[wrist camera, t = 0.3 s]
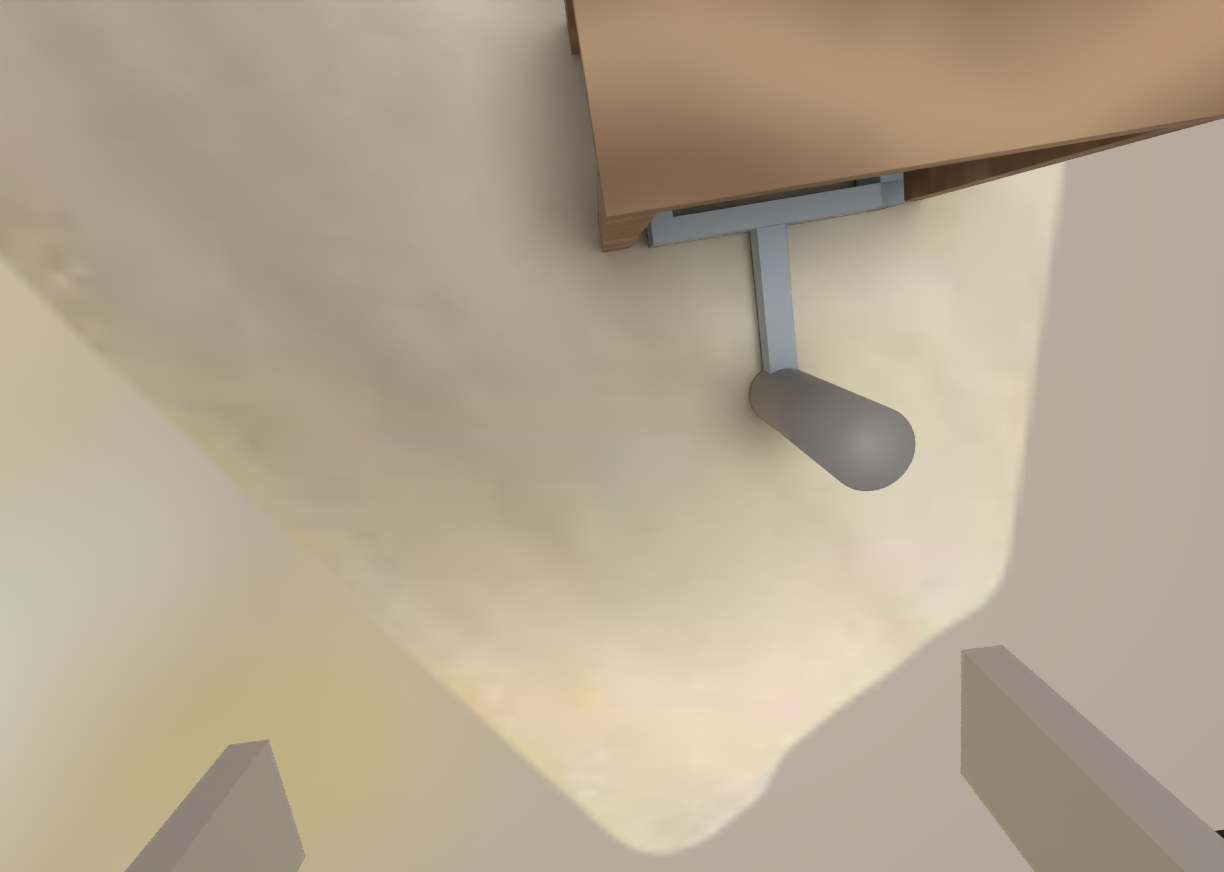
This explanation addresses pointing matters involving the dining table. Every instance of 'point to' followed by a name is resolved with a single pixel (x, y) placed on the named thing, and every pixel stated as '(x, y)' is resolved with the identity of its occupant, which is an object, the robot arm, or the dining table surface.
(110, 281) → the dining table surface
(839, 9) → the tunnel
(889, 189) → the grey frame on stick
